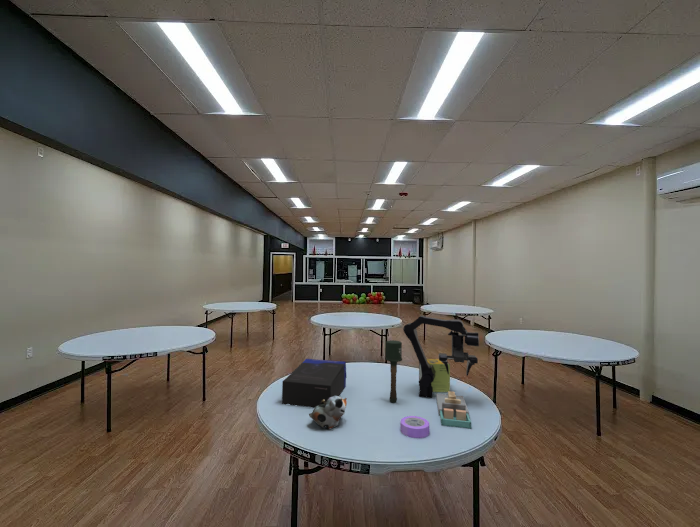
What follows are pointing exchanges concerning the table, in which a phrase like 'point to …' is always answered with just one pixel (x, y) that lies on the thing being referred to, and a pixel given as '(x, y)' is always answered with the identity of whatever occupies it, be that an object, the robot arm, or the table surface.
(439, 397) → the board
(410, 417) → the masking tape
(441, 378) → the protein box
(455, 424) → the tray
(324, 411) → the lucky cat figurine
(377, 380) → the table surface
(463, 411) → the tile
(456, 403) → the tan stepped block
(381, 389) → the table surface
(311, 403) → the headphone box
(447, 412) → the tile
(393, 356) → the potato masher grenade
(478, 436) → the table surface
